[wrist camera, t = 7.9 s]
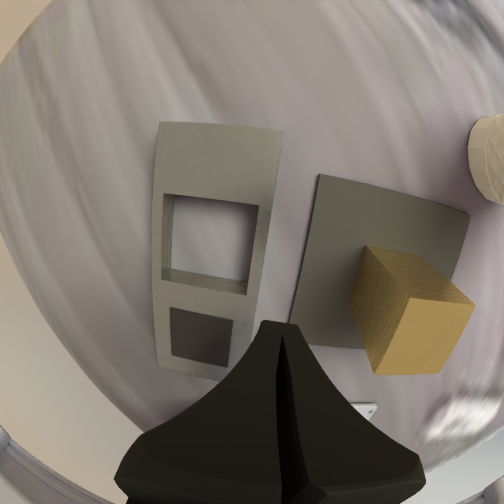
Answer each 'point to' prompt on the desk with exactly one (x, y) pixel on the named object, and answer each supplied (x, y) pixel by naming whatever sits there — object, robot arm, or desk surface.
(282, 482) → the robot arm
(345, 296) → the mat
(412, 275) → the brass rectangular block
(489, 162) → the white cup
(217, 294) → the grey plate with hole
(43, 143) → the desk surface
